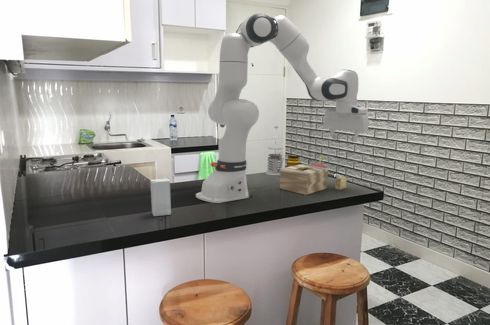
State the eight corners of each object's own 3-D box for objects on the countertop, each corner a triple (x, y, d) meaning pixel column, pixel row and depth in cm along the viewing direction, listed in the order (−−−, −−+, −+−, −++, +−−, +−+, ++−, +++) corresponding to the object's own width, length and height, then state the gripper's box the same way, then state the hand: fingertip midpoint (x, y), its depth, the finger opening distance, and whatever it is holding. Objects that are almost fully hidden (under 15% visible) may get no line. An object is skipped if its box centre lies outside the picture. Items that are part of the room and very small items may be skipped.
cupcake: (320, 174, 193) (321, 152, 191) (328, 178, 185) (330, 154, 183) (305, 175, 190) (306, 152, 188) (313, 179, 182) (314, 155, 180)
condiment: (290, 181, 177) (291, 156, 175) (280, 177, 185) (281, 154, 182) (302, 180, 181) (304, 155, 178) (292, 176, 188) (293, 153, 186)
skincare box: (168, 211, 130) (168, 177, 127) (171, 215, 126) (170, 180, 123) (151, 213, 127) (150, 179, 125) (153, 217, 123) (152, 182, 121)
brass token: (340, 189, 164) (340, 178, 163) (335, 188, 165) (335, 177, 164) (345, 188, 167) (346, 177, 166) (340, 186, 169) (341, 176, 168)
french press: (277, 170, 201) (279, 124, 196) (289, 175, 191) (291, 126, 186) (261, 172, 197) (263, 125, 192) (273, 176, 186) (274, 127, 182)
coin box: (305, 194, 154) (307, 173, 152) (279, 188, 164) (280, 168, 162) (326, 188, 165) (328, 168, 164) (301, 182, 175) (302, 164, 173)
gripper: (321, 107, 164) (319, 138, 167) (364, 109, 150) (361, 143, 153) (329, 107, 169) (327, 137, 171) (371, 109, 155) (368, 142, 157)
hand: (344, 140), depth 162 cm, fingers open, 8 cm apart
